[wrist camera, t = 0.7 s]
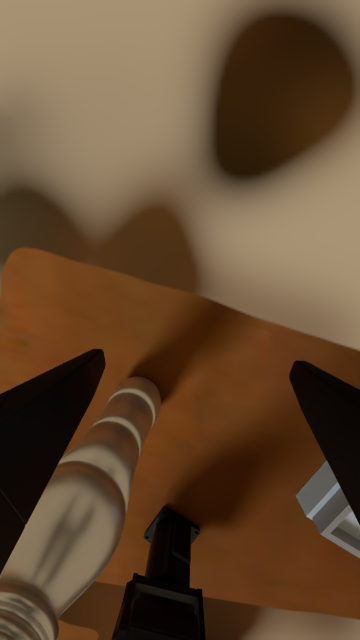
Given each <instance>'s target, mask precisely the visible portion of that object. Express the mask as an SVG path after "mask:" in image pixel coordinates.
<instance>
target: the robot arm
mask: <svg viewBox="0 0 360 640" xmlns="http://www.w3.org/2000/svg"><path fill="white" fill-rule="evenodd" d="M104 369H105V358H104V352H103V350H102V349H92V350H90V351H88V352H86V353H84V354H82V355H80V356H78V357H75V358H73V359H71V360H69V361H67V362H65V363H63V364H61V365H59V366H57V367H55V368H53V369H51V370H49V371H47V372H45V373H43V374H41V375H38V376H36V377H34V378H32V379H30V380H28V381H26V382H24V383H22V384H20V385H18V386H16V387H14V388H12V389H11V390H8V391H6V392H4V393H1V394H0V574H1V572H2V571H3V569H4V567H5V565H6V563H7V561H8V559H9V557H10V555H11V553H12V552H13V550H14V548H15V546H16V544H17V542H18V540H19V538H20V536H21V534H22V532H23V531H24V529H25V525H26V524H27V523H28V521H29V519H30V517H31V515H32V513H33V511H34V509H35V507H36V505H37V503H38V502H39V500H40V498H41V496H42V494H43V492H44V490H45V488H46V486H47V484H48V483H49V481H50V479H51V477H52V475H53V473H54V471H55V469H56V467H57V465H58V463H59V462H60V460H61V458H62V456H63V454H64V452H65V450H66V448H67V446H68V444H69V443H70V441H71V439H72V437H73V435H74V433H75V431H76V429H77V427H78V425H79V423H80V422H81V420H82V418H83V416H84V414H85V412H86V410H87V408H88V406H89V404H90V402H91V401H92V398H93V396H94V394H95V392H96V389H97V387H98V384H99V382H100V379H101V377H102V374H103V371H104ZM289 378H290V381H291V384H292V386H293V389H294V392H295V394H296V397H297V399H298V402H299V405H300V407H301V410H302V412H303V414H304V416H305V418H306V420H307V422H308V424H309V426H310V428H311V430H312V432H313V434H314V436H315V438H316V440H317V442H318V444H319V446H320V448H321V450H322V452H323V454H324V456H325V458H326V460H327V462H328V464H329V466H330V468H331V470H332V472H333V474H334V476H335V478H336V480H337V482H338V484H339V485H340V487H341V489H342V491H343V493H344V495H345V497H346V499H347V501H348V503H349V505H350V507H351V509H352V511H353V513H354V515H355V517H356V519H357V521H358V523H359V525H360V390H359V389H357V388H355V387H353V386H352V385H350V384H348V383H346V382H344V381H342V380H340V379H338V378H337V377H335V376H333V375H331V374H329V373H327V372H325V371H323V370H322V369H320V368H318V367H316V366H314V365H312V364H310V363H308V362H306V361H298V360H297V361H295V362H294V363H293V366H292V369H291V372H290V375H289ZM199 534H200V529H199V527H197V526H196V525H194V524H193V523H191V522H189V521H188V520H186V519H184V518H183V517H181V516H179V515H178V514H176V513H175V512H173V511H171V510H170V509H168V508H166V507H164V508H162V510H161V511H160V513H159V514H158V515H157V517H156V518H155V519H154V521H153V522H152V524H151V525H150V526H149V528H148V529H147V531H146V532H145V534H144V538H145V539H146V540H147V541H149V542H150V543H151V545H150V550H149V556H148V561H147V566H146V572H145V576H141V575H138V573H134V575H133V579H132V580H131V581H130V582H128V583H127V585H126V589H125V593H124V598H123V602H122V605H121V609H120V613H119V616H118V619H117V622H116V626H115V629H114V633H113V636H112V640H205V626H204V612H203V597H202V589H199V588H198V589H194V588H189V587H190V562H191V544H192V543H193V541H194V540H195V539H196V538H197V536H198V535H199Z"/></svg>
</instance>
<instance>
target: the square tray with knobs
mask: <svg viewBox="0 0 360 640" xmlns="http://www.w3.org/2000/svg"><path fill="white" fill-rule="evenodd" d="M296 497H297V499H298V501H299V503H300V505H301V507H302V509H303V511H304V513H305V515H306V517H308V518H310V519H311V520H313V521H314V523H315V525H316V527H317V529H318V531H319V533H320V534H321V535H322V536H324V537H326V538H327V539H329V540H331V541H332V542H334V543H335V544H337V545H339V546H340V547H342V548H344V549H345V550H347V551H349V552H350V553H352V554H354V555H355V556H357V557H359V558H360V525H359V523H358V521H357V519H356V517H355V515H354V513H353V511H352V509H351V507H350V505H349V503H348V501H347V499H346V497H345V495H344V493H343V491H342V489H341V487H340V485H339V484H338V482H337V480H336V478H335V476H334V474H333V472H332V470H331V468H330V466H329V464H328V462H327V460H326V462H325V463H324V464H323V465H322V466H321V467H320V468H319V469H318V471H317V472H316V473H315V474H314V475H313V476H312V477H311V479H310V480H309V481H308V482H307V483H306V484H305V485H304V487H303V488H302V489H301V490H300V491H299V492H298V493H297V495H296Z"/></svg>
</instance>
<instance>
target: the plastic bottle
mask: <svg viewBox="0 0 360 640" xmlns="http://www.w3.org/2000/svg"><path fill="white" fill-rule="evenodd" d="M160 406H161V397H160V393H159V391H158V389H157V387H156V386H155V384H153V383H152V382H151V381H150V380H148V379H146V378H143V377H131V378H128V379H126V380H125V381H123V382H122V383H121V384H119V385H118V386H117V387H116V388H115V390H114V391H113V393H112V395H111V397H110V399H109V401H108V403H107V405H106V407H105V408H104V410H103V412H102V413H101V415H100V416H99V418H98V419H97V421H96V422H95V424H94V425H93V426H92V427H91V428H90V429H89V430H88V432H87V433H86V434H85V435H84V436H83V437H82V438H81V440H80V441H79V442H78V443H77V444H76V445H75V446H74V447H73V448H72V449H71V450H70V451H69V452H68V453H67V454H65V455H64V456H63V457H62V458H61V460H60V462H59V463H58V465H57V467H56V469H55V471H54V473H53V475H52V477H51V479H50V481H49V483H48V484H47V486H46V488H45V490H44V492H43V494H42V496H41V498H40V500H39V502H38V503H37V505H36V507H35V509H34V511H33V513H32V515H31V517H30V519H29V521H28V523H27V524H26V525H25V529H24V531H23V532H22V534H21V536H20V538H19V540H18V542H17V544H16V546H15V548H14V550H13V552H12V553H11V555H10V557H9V559H8V561H7V563H6V565H5V567H4V569H3V571H2V572H1V577H0V640H57V637H58V633H59V626H58V619H59V618H60V616H61V614H62V613H63V612H64V611H65V610H66V609H67V608H68V607H69V606H70V605H71V604H72V603H73V602H74V601H75V600H76V599H77V598H78V597H79V596H80V595H81V594H83V593H84V592H85V591H86V590H87V588H88V587H89V586H90V585H91V584H92V583H93V581H94V580H95V579H96V578H97V577H98V576H99V575H100V573H101V572H102V571H103V570H104V568H105V567H106V565H107V563H108V562H109V560H110V558H111V556H112V554H113V552H114V551H115V549H116V547H117V545H118V543H119V540H120V537H121V533H122V529H123V525H124V521H125V515H126V511H127V506H128V501H129V496H130V491H131V487H132V482H133V477H134V473H135V469H136V466H137V463H138V459H139V456H140V452H141V449H142V447H143V445H144V442H145V440H146V438H147V436H148V434H149V431H150V430H151V428H152V427H153V425H154V423H155V422H156V420H157V418H158V416H159V413H160Z"/></svg>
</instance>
